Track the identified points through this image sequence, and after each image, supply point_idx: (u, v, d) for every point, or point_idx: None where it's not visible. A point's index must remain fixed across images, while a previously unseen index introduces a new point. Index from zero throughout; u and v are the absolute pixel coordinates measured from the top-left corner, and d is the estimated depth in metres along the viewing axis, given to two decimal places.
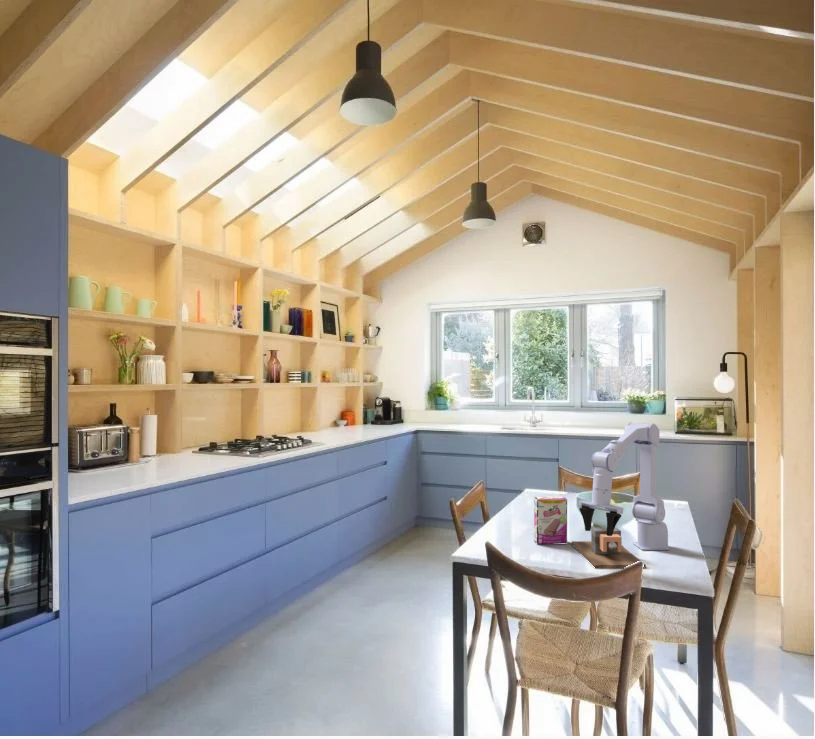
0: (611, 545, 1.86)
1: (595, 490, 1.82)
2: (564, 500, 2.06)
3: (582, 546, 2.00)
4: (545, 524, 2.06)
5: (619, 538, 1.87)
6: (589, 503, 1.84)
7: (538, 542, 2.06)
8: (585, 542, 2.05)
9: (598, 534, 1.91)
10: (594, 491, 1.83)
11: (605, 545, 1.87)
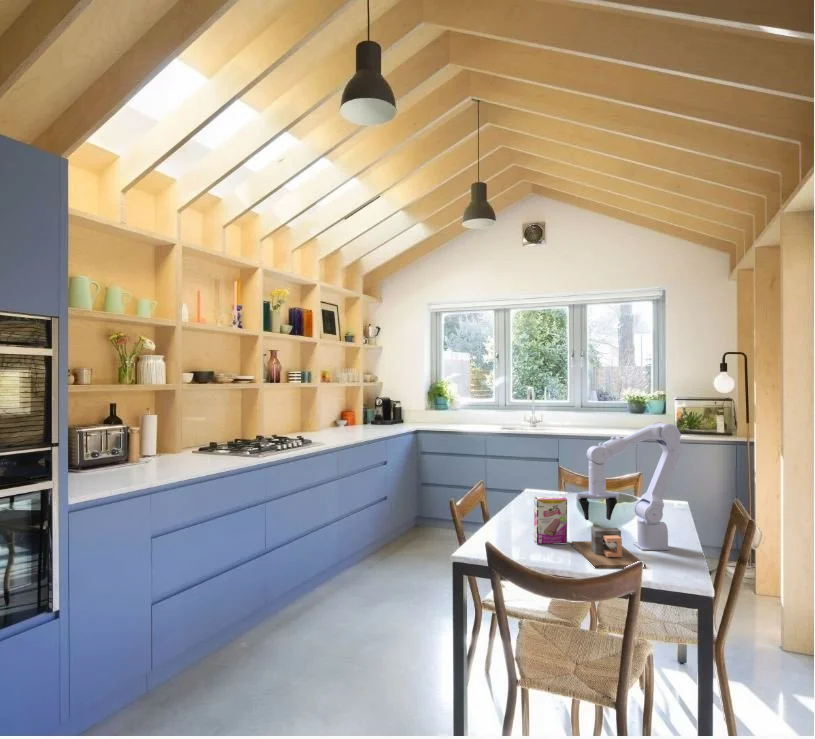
0: (611, 545, 1.86)
1: (598, 483, 1.99)
2: (564, 500, 2.06)
3: (582, 546, 2.00)
4: (545, 524, 2.06)
5: (620, 554, 1.87)
6: (592, 495, 2.00)
7: (538, 542, 2.06)
8: (585, 542, 2.05)
9: (598, 534, 1.91)
10: (597, 484, 1.99)
11: (613, 540, 1.87)
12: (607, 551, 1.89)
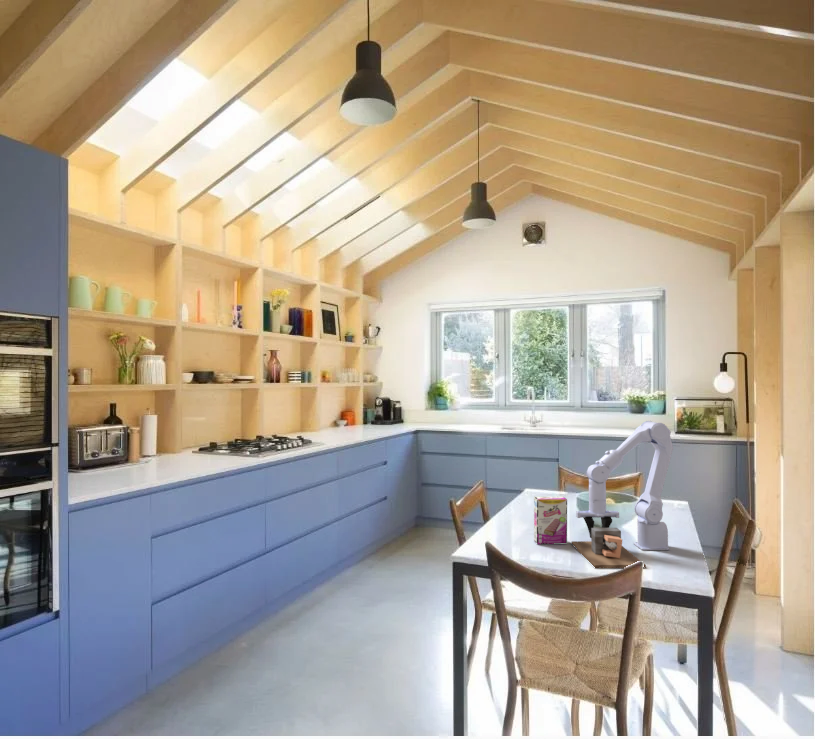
0: (611, 545, 1.86)
1: (598, 502, 1.99)
2: (564, 500, 2.06)
3: (582, 546, 2.00)
4: (545, 524, 2.06)
5: (619, 555, 1.87)
6: (592, 514, 2.00)
7: (538, 542, 2.06)
8: (585, 542, 2.05)
9: (598, 534, 1.91)
10: (597, 503, 1.99)
11: (613, 540, 1.87)
12: (606, 550, 1.89)
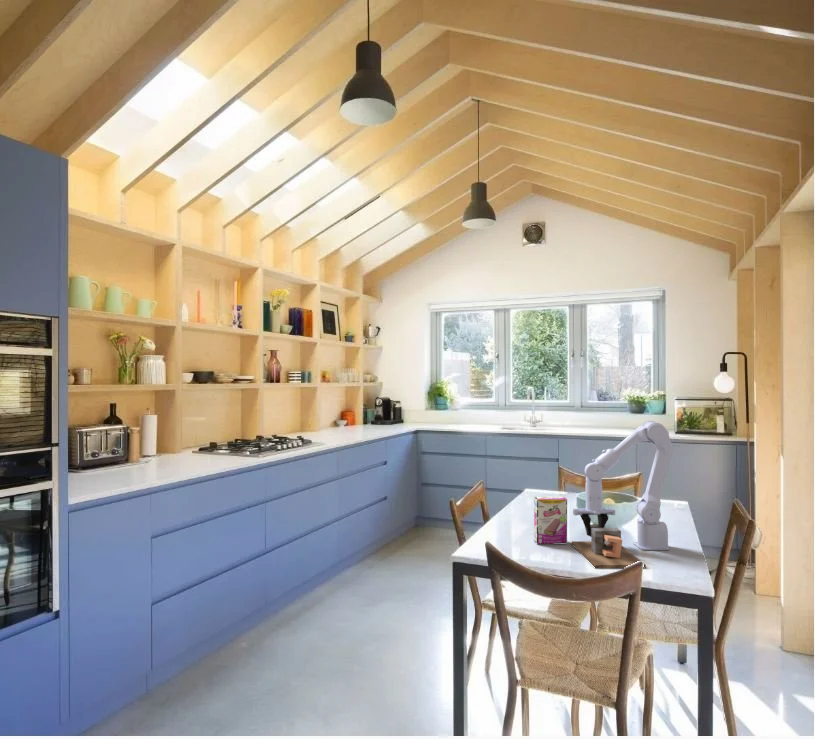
0: (607, 542, 1.90)
1: (594, 499, 2.03)
2: (564, 500, 2.06)
3: (582, 546, 2.00)
4: (545, 524, 2.06)
5: (619, 555, 1.87)
6: (588, 511, 2.03)
7: (538, 542, 2.06)
8: (585, 542, 2.05)
9: (598, 534, 1.91)
10: (593, 500, 2.03)
11: (613, 540, 1.87)
12: (606, 550, 1.89)
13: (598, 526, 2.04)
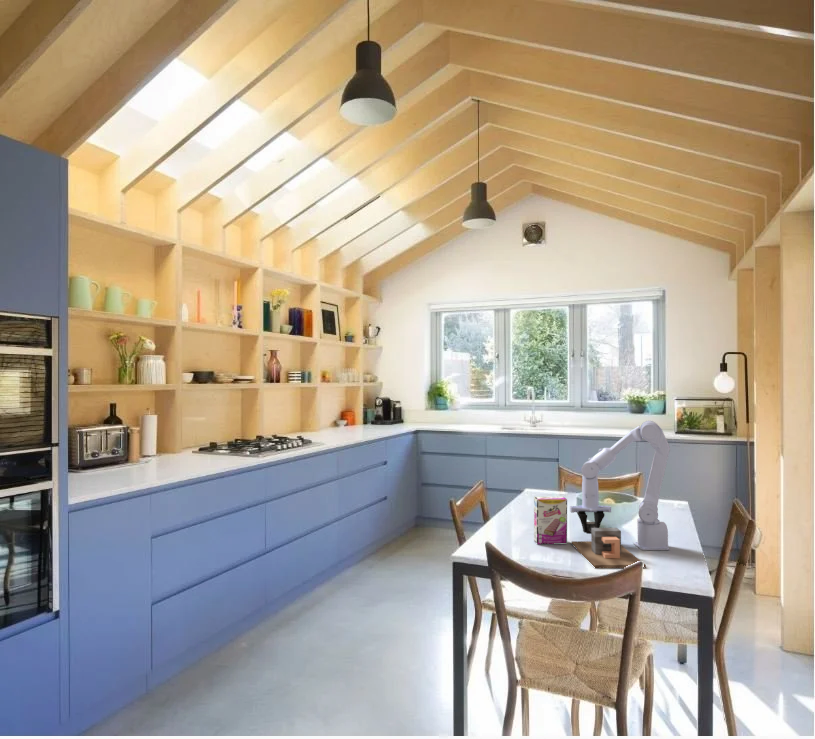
0: None
1: (591, 497, 2.07)
2: (564, 500, 2.06)
3: (582, 546, 2.00)
4: (545, 524, 2.06)
5: (618, 555, 1.87)
6: (585, 509, 2.08)
7: (538, 542, 2.06)
8: (585, 542, 2.05)
9: (598, 534, 1.91)
10: (590, 498, 2.07)
11: (611, 542, 1.87)
12: (605, 552, 1.89)
13: (594, 523, 2.08)
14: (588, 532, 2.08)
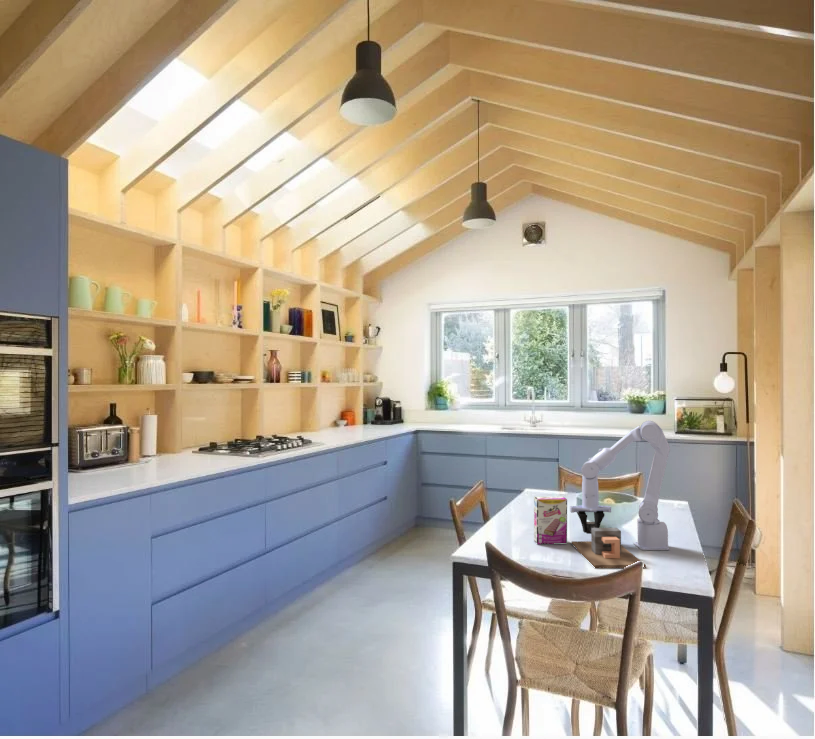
0: None
1: (591, 497, 2.07)
2: (564, 500, 2.06)
3: (582, 546, 2.00)
4: (545, 524, 2.06)
5: (618, 555, 1.87)
6: (585, 509, 2.08)
7: (538, 542, 2.06)
8: (585, 542, 2.05)
9: (598, 534, 1.91)
10: (590, 498, 2.07)
11: (611, 542, 1.87)
12: (605, 552, 1.89)
13: (594, 523, 2.09)
14: (588, 532, 2.08)
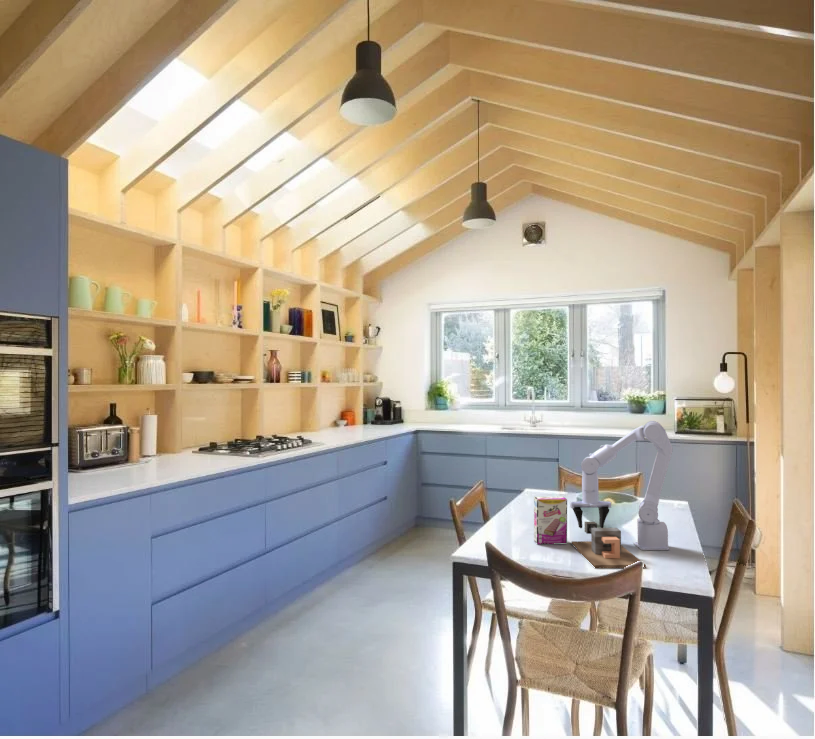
0: None
1: (591, 492, 2.07)
2: (564, 500, 2.06)
3: (582, 546, 2.00)
4: (545, 524, 2.06)
5: (618, 555, 1.87)
6: (585, 504, 2.08)
7: (538, 542, 2.06)
8: (585, 542, 2.05)
9: (598, 534, 1.91)
10: (590, 493, 2.07)
11: (611, 542, 1.87)
12: (605, 552, 1.89)
13: (594, 523, 2.09)
14: (588, 532, 2.08)
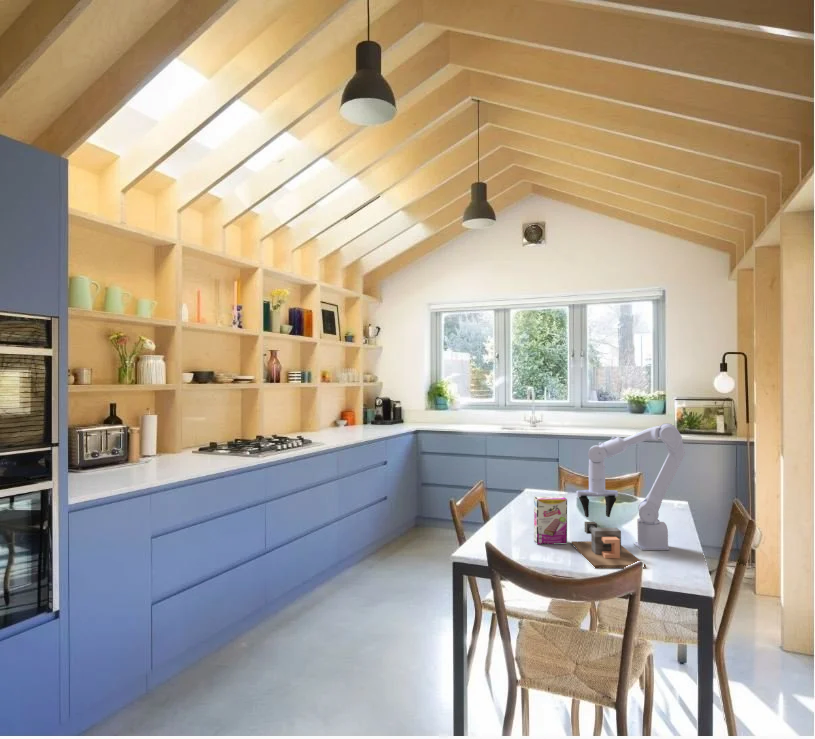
0: None
1: (597, 481, 2.06)
2: (564, 500, 2.06)
3: (582, 546, 2.00)
4: (545, 524, 2.06)
5: (618, 555, 1.87)
6: (591, 493, 2.06)
7: (538, 542, 2.06)
8: (585, 542, 2.05)
9: (598, 534, 1.91)
10: (596, 482, 2.06)
11: (611, 542, 1.87)
12: (605, 552, 1.89)
13: (594, 523, 2.09)
14: (588, 532, 2.08)
